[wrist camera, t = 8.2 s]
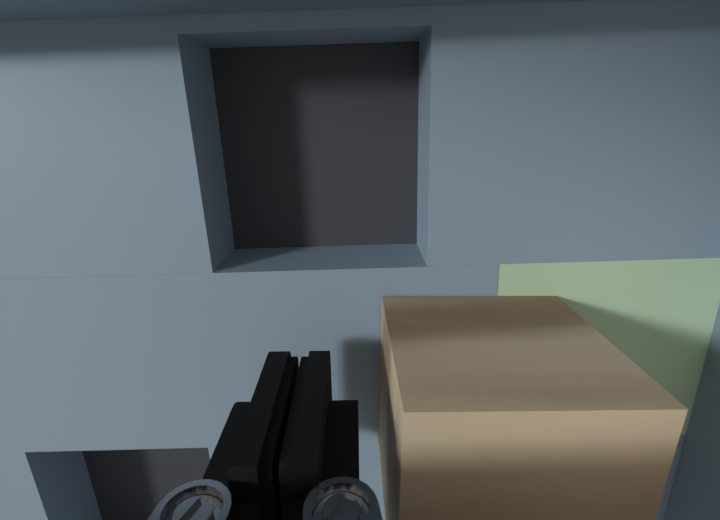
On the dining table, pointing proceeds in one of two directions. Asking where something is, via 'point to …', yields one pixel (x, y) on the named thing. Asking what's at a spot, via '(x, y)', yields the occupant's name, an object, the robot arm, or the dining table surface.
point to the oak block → (516, 414)
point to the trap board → (334, 213)
